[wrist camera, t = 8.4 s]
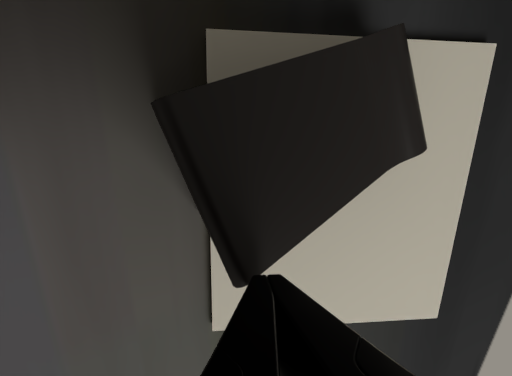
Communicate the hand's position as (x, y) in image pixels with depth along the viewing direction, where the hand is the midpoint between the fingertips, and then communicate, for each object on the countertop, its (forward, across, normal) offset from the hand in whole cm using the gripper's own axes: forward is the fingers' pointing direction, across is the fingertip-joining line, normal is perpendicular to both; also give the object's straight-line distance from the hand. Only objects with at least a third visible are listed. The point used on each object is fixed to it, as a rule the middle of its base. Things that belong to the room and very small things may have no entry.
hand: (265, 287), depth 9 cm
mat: (+9, -6, 0) cm, 11 cm away
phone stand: (+5, +3, -2) cm, 6 cm away
